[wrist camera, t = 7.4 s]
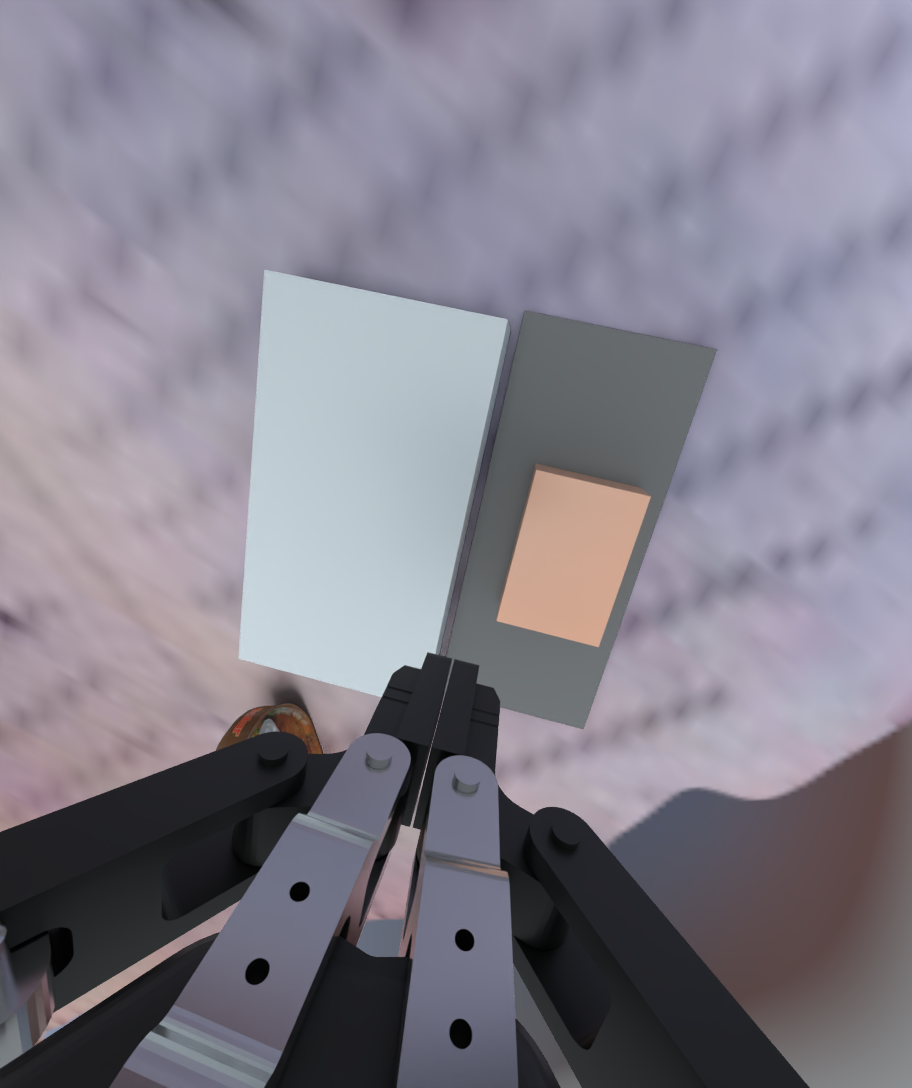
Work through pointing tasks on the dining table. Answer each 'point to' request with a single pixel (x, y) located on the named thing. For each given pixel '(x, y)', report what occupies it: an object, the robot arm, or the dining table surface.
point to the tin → (273, 725)
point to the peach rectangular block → (570, 554)
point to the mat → (582, 447)
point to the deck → (361, 476)
